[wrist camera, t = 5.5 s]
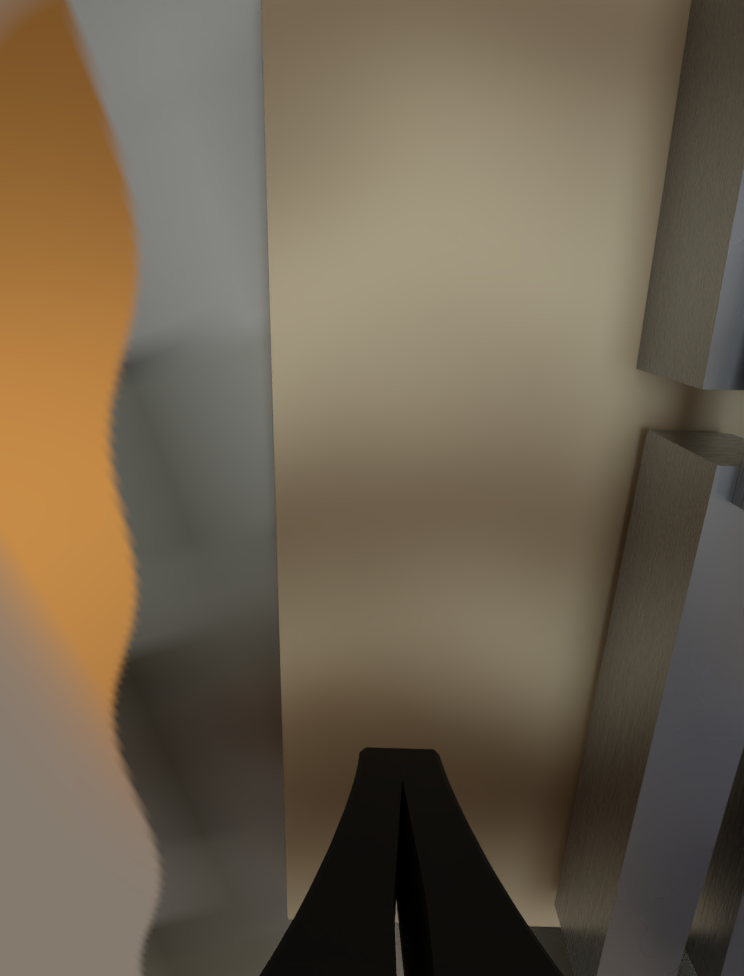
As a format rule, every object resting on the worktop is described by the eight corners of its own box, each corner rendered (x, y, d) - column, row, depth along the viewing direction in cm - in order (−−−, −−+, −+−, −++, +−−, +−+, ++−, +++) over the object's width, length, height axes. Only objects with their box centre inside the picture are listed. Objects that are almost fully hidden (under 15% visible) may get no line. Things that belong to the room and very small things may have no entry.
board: (784, 885, 15) (818, 934, 14) (294, 871, 15) (287, 919, 14) (1047, 9, 10) (1138, -30, 8) (274, -5, 10) (260, -45, 8)
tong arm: (678, 910, 13) (746, 1052, 11) (554, 904, 13) (593, 1044, 11) (876, 206, 9) (1062, 175, 7) (693, 196, 9) (810, 160, 7)
